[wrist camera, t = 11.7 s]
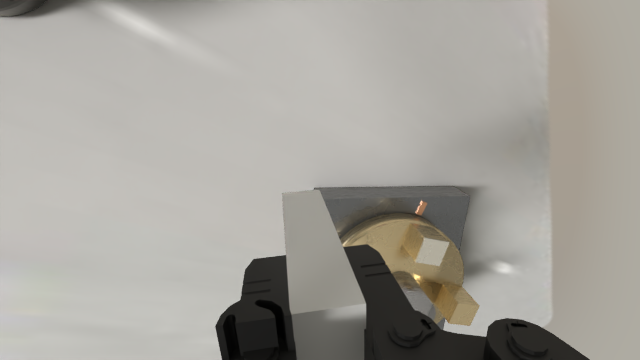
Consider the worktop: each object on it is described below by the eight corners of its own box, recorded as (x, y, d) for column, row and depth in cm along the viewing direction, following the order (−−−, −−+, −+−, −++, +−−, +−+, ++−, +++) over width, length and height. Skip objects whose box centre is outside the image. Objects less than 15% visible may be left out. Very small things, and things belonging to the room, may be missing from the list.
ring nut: (297, 260, 38) (303, 304, 31) (421, 187, 38) (457, 214, 30) (361, 346, 44) (378, 401, 37) (468, 285, 44) (508, 328, 36)
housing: (310, 321, 47) (313, 343, 43) (314, 187, 40) (318, 199, 36) (430, 311, 50) (443, 331, 46) (453, 185, 43) (471, 196, 39)
